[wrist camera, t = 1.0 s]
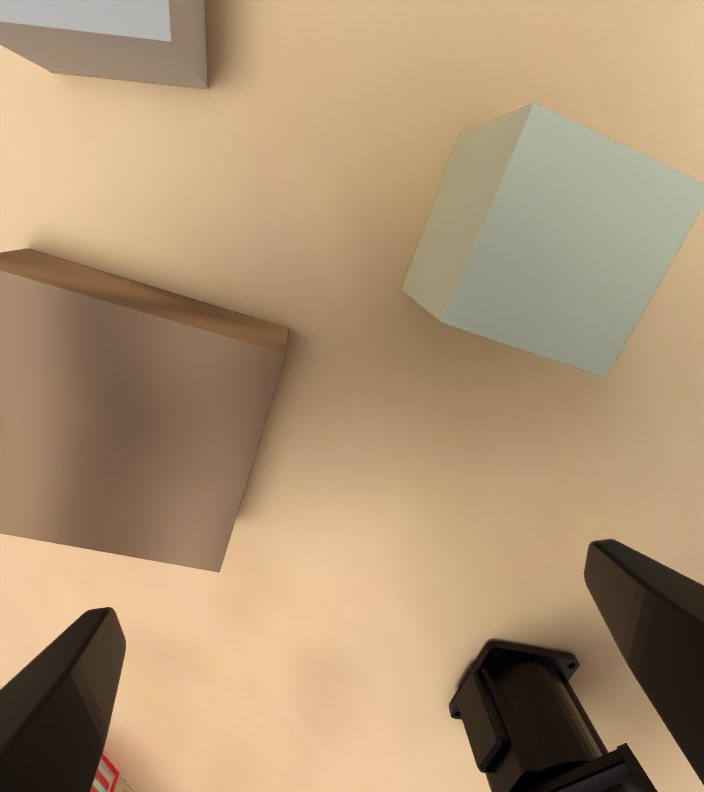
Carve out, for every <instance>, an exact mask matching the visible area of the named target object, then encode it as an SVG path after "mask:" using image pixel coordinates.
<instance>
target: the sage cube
mask: <svg viewBox="0 0 704 792" xmlns="http://www.w3.org/2000/svg"><path fill="white" fill-rule="evenodd" d="M703 206H704V183H702V182H700V181H698V180H696V179H694V178H692V177H689V176H687V175H685V174H683V173H681V172H679V171H677V170H675V169H673V168H671V167H668V166H666V165H664V164H662V163H660V162H658V161H656V160H654V159H652V158H650V157H648V156H645V155H643V154H641V153H639V152H637V151H635V150H633V149H631V148H629V147H627V146H624V145H622V144H620V143H618V142H616V141H614V140H612V139H610V138H608V137H606V136H603V135H601V134H599V133H597V132H595V131H593V130H591V129H589V128H587V127H585V126H582V125H580V124H578V123H576V122H574V121H572V120H570V119H568V118H566V117H564V116H561V115H559V114H557V113H555V112H553V111H551V110H549V109H547V108H545V107H543V106H540V105H538V104H536V103H532V104H529V105H527V106H525V107H523V108H520V109H518V110H516V111H513V112H511V113H509V114H507V115H504V116H502V117H500V118H498V119H495V120H493V121H491V122H488V123H486V124H484V125H482V126H479V127H477V128H475V129H472V130H470V131H468V132H466V133H463V134H461V135H459V137H458V140H457V142H456V145H455V148H454V150H453V153H452V156H451V158H450V161H449V164H448V166H447V169H446V172H445V174H444V177H443V180H442V182H441V185H440V188H439V190H438V193H437V196H436V198H435V201H434V204H433V206H432V209H431V211H430V214H429V217H428V219H427V222H426V225H425V227H424V230H423V233H422V235H421V238H420V241H419V243H418V246H417V249H416V251H415V254H414V257H413V259H412V262H411V265H410V267H409V270H408V273H407V275H406V278H405V281H404V283H403V286H402V289H401V290H402V291H403V292H405V293H406V294H407V295H408V296H410V297H411V298H412V299H413V300H415V301H416V302H417V303H418V304H419V305H421V306H422V307H423V308H424V309H426V310H427V311H428V312H429V313H430V314H432V315H433V316H434V317H435V318H437V319H438V320H439V321H440V322H442V323H444V324H447V325H450V326H453V327H456V328H459V329H462V330H465V331H468V332H471V333H474V334H477V335H480V336H483V337H486V338H489V339H492V340H495V341H498V342H501V343H504V344H507V345H510V346H513V347H516V348H519V349H522V350H525V351H528V352H531V353H534V354H537V355H540V356H543V357H546V358H549V359H552V360H555V361H558V362H561V363H564V364H567V365H570V366H573V367H576V368H579V369H582V370H585V371H587V372H590V373H593V374H596V375H599V376H602V377H605V378H606V377H607V375H608V373H609V372H610V370H611V368H612V366H613V365H614V363H615V361H616V359H617V357H618V356H619V354H620V352H621V350H622V349H623V347H624V345H625V343H626V342H627V340H628V338H629V336H630V335H631V333H632V331H633V329H634V328H635V326H636V324H637V322H638V320H639V319H640V317H641V315H642V313H643V312H644V310H645V308H646V306H647V305H648V303H649V301H650V299H651V298H652V296H653V294H654V292H655V291H656V289H657V287H658V285H659V283H660V282H661V280H662V278H663V276H664V275H665V273H666V271H667V269H668V268H669V266H670V264H671V262H672V261H673V259H674V257H675V255H676V254H677V252H678V250H679V248H680V246H681V245H682V243H683V241H684V239H685V238H686V236H687V234H688V232H689V231H690V229H691V227H692V225H693V224H694V222H695V220H696V218H697V217H698V215H699V213H700V211H701V209H702V208H703Z"/></svg>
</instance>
